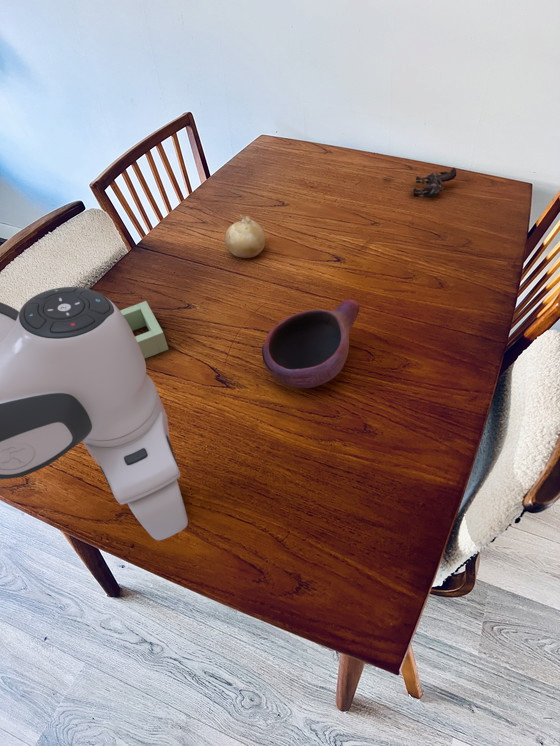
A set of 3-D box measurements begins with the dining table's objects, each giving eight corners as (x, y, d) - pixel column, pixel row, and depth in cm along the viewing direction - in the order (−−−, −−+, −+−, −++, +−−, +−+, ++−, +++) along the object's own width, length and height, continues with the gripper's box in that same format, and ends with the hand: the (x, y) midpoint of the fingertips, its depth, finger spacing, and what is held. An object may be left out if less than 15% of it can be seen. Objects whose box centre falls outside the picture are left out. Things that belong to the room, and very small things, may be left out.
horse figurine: (383, 207, 115) (454, 202, 110) (380, 192, 112) (453, 185, 107) (389, 183, 120) (457, 176, 114) (387, 167, 117) (457, 160, 111)
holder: (71, 388, 82) (61, 371, 79) (59, 352, 88) (50, 336, 85) (168, 349, 87) (163, 332, 84) (151, 317, 92) (146, 300, 89)
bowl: (333, 410, 76) (334, 374, 70) (253, 389, 80) (247, 354, 74) (361, 336, 86) (364, 299, 80) (288, 320, 89) (286, 284, 83)
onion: (273, 256, 102) (270, 224, 96) (236, 268, 100) (231, 237, 94) (257, 235, 107) (253, 204, 101) (221, 247, 105) (215, 216, 99)
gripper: (70, 368, 59) (109, 435, 70) (120, 513, 47) (157, 568, 58) (123, 347, 61) (153, 416, 72) (184, 482, 49) (210, 541, 59)
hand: (155, 485), depth 64 cm, fingers open, 8 cm apart
